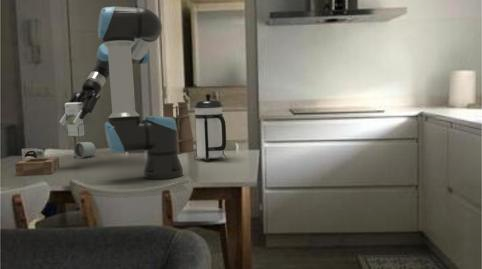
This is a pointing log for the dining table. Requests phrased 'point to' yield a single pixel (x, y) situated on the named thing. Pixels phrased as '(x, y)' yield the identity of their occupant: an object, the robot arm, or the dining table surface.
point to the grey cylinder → (84, 149)
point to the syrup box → (71, 114)
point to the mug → (31, 153)
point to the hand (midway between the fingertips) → (68, 124)
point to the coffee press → (209, 129)
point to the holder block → (37, 166)
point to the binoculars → (181, 126)
